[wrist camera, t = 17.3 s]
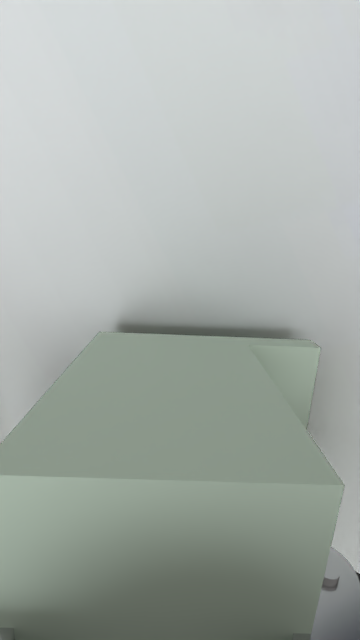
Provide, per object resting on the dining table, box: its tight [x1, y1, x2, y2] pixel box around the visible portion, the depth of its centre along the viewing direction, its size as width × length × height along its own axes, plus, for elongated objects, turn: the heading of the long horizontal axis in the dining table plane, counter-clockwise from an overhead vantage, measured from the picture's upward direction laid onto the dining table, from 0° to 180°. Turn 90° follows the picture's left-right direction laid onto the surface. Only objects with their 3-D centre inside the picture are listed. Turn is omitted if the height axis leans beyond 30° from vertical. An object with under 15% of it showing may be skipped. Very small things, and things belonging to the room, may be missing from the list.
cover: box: [0, 332, 345, 640], centre depth 8 cm, size 8×7×6 cm
